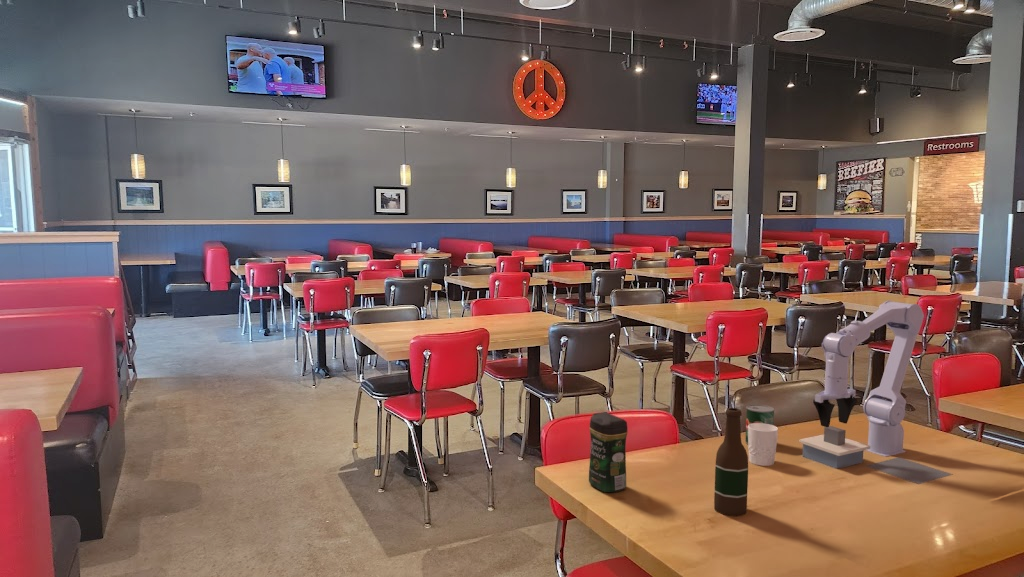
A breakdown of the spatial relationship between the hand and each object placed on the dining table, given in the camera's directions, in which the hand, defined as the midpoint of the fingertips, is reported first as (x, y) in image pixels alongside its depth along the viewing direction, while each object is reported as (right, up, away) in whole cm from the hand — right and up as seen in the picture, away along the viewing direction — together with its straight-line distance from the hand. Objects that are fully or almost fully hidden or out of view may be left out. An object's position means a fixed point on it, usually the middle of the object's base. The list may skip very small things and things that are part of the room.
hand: (834, 424), depth 197 cm
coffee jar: (-66, -12, -19) cm, 70 cm away
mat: (+17, -11, -7) cm, 21 cm away
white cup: (-20, -11, 0) cm, 23 cm away
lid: (0, -6, 0) cm, 6 cm away
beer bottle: (-39, -14, -33) cm, 53 cm away
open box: (0, -10, +1) cm, 10 cm away
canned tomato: (-15, -9, +16) cm, 24 cm away
